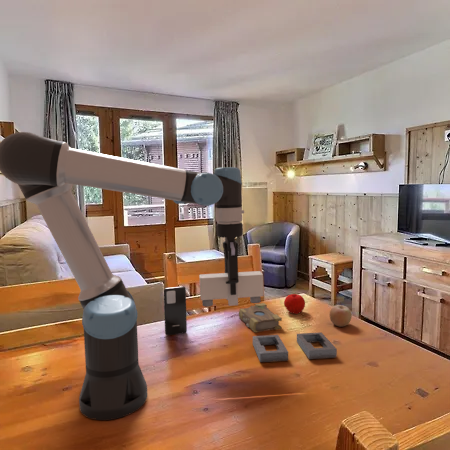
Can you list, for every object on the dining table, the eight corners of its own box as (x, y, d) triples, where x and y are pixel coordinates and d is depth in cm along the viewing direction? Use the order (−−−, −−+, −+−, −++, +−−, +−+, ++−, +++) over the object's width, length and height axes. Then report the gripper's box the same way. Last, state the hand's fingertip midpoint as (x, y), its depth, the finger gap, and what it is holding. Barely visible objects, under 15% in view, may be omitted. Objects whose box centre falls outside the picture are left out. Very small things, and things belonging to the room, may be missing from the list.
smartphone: (186, 332, 120) (185, 286, 119) (187, 333, 119) (186, 286, 118) (164, 335, 118) (163, 288, 117) (165, 336, 117) (163, 288, 116)
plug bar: (201, 307, 100) (199, 278, 100) (200, 302, 105) (199, 274, 104) (263, 303, 102) (263, 274, 101) (260, 298, 107) (259, 271, 106)
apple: (283, 316, 134) (283, 297, 133) (284, 309, 142) (284, 291, 141) (305, 317, 133) (305, 297, 132) (304, 310, 140) (304, 291, 140)
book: (282, 329, 122) (282, 315, 122) (252, 334, 119) (252, 320, 118) (264, 315, 136) (264, 302, 135) (237, 319, 133) (236, 306, 132)
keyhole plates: (260, 362, 99) (260, 353, 99) (252, 344, 110) (252, 336, 110) (336, 357, 101) (336, 348, 101) (321, 339, 113) (321, 332, 112)
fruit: (327, 320, 129) (328, 299, 128) (349, 321, 128) (349, 299, 127) (331, 329, 121) (331, 306, 120) (353, 329, 120) (354, 306, 119)
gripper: (247, 225, 93) (250, 311, 95) (238, 219, 110) (240, 292, 113) (218, 226, 92) (222, 313, 95) (214, 220, 109) (216, 294, 112)
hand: (232, 301), depth 104 cm, fingers closed on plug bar, 4 cm apart
